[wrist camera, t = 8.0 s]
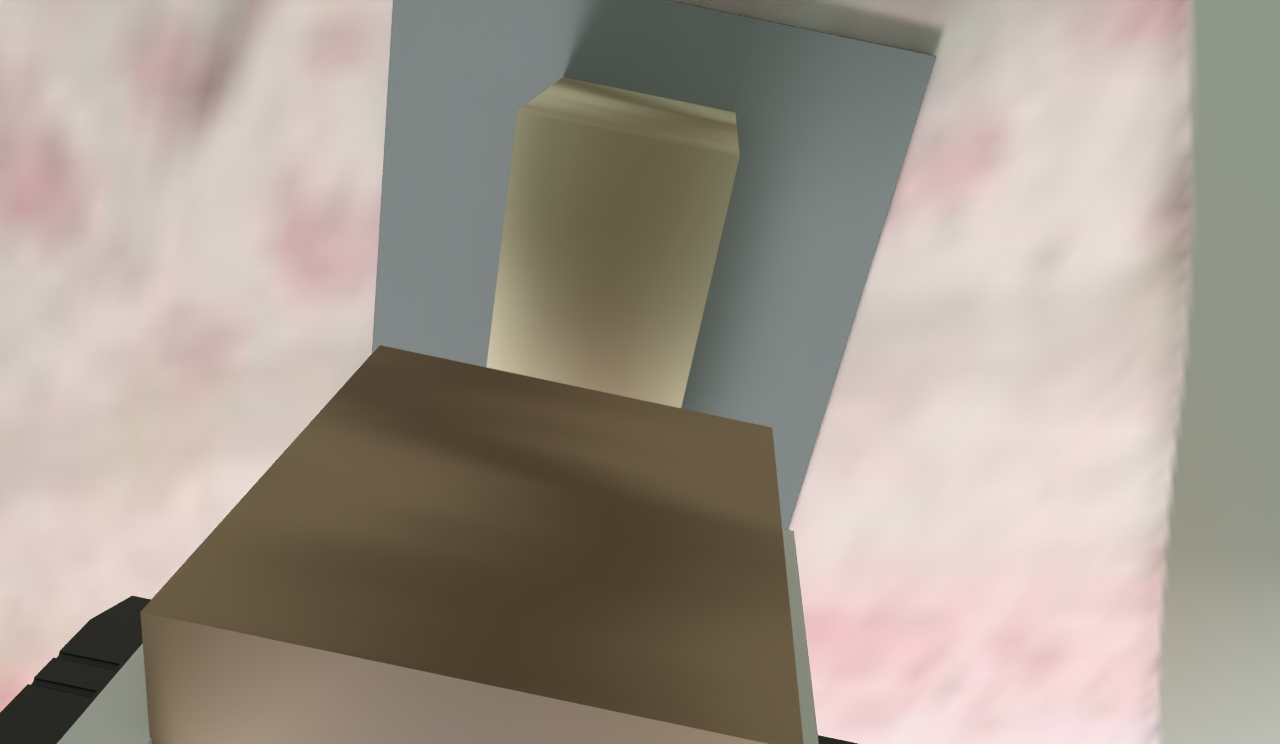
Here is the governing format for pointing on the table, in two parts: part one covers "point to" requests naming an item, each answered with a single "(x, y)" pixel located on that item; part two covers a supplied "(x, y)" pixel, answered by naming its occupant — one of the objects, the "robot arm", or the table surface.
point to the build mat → (759, 203)
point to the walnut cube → (486, 576)
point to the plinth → (611, 238)
